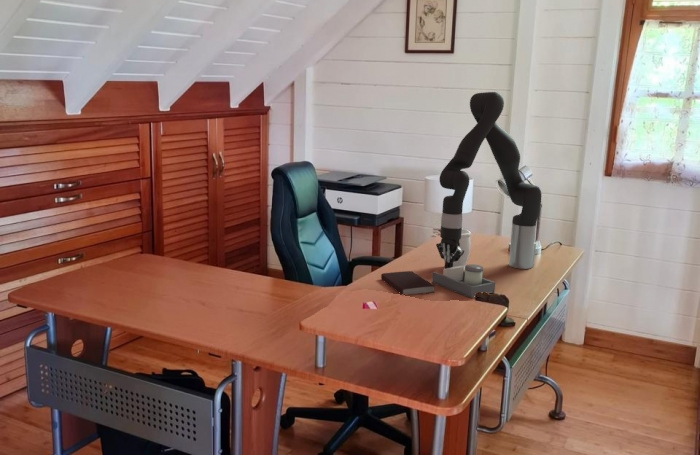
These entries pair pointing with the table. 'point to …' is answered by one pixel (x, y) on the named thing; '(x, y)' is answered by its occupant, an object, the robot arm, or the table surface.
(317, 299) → the table surface
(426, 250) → the table surface
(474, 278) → the small jar
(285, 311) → the table surface
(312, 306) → the table surface
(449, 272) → the block
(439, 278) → the grey tray
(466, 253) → the jar
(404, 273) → the book
